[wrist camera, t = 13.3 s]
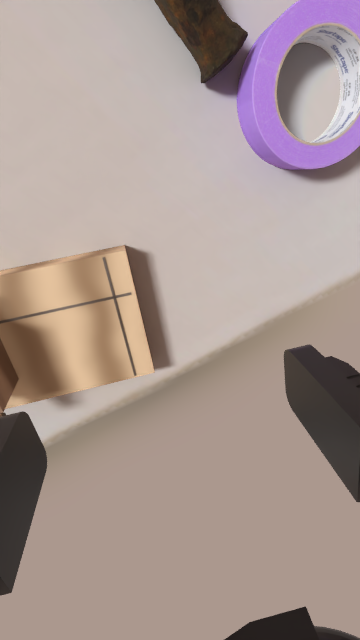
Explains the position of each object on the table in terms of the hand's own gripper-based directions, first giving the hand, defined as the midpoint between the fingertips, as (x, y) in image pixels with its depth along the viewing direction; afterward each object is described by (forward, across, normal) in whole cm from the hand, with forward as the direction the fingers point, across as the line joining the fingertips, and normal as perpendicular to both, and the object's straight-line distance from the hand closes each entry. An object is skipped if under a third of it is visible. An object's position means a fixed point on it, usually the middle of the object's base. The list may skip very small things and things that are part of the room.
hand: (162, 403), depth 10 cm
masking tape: (+25, -17, -10) cm, 32 cm away
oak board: (+23, +11, +6) cm, 26 cm away
